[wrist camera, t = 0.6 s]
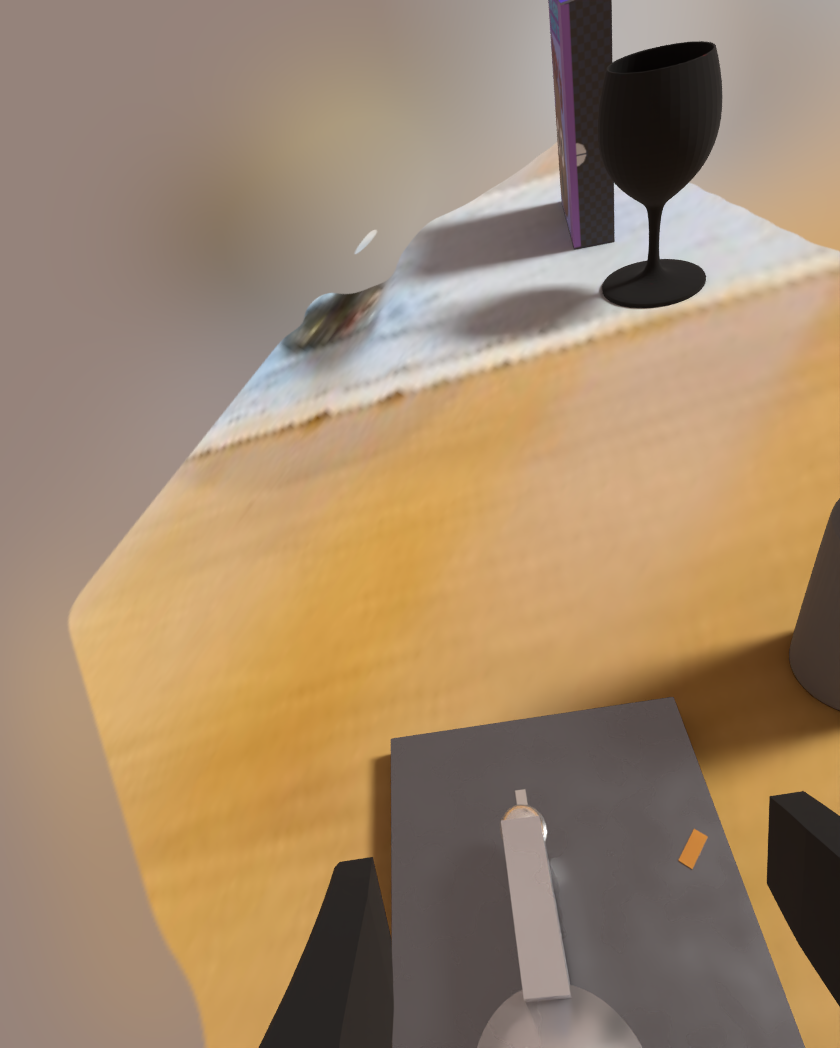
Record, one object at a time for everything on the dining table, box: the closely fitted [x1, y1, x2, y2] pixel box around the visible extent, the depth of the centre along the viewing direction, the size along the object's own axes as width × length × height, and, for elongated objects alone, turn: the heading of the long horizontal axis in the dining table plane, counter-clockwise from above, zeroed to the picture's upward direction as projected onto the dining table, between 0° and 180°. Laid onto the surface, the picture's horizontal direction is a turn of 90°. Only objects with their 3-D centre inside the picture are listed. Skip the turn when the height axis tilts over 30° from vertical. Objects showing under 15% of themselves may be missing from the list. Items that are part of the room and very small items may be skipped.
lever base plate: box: [391, 697, 805, 1048], centre depth 26 cm, size 20×15×2 cm
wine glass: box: [597, 42, 722, 308], centre depth 60 cm, size 10×10×20 cm
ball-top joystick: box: [477, 804, 642, 1048], centre depth 23 cm, size 12×6×4 cm, turn 2°
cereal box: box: [548, 0, 614, 250], centre depth 75 cm, size 17×5×24 cm, turn 176°
